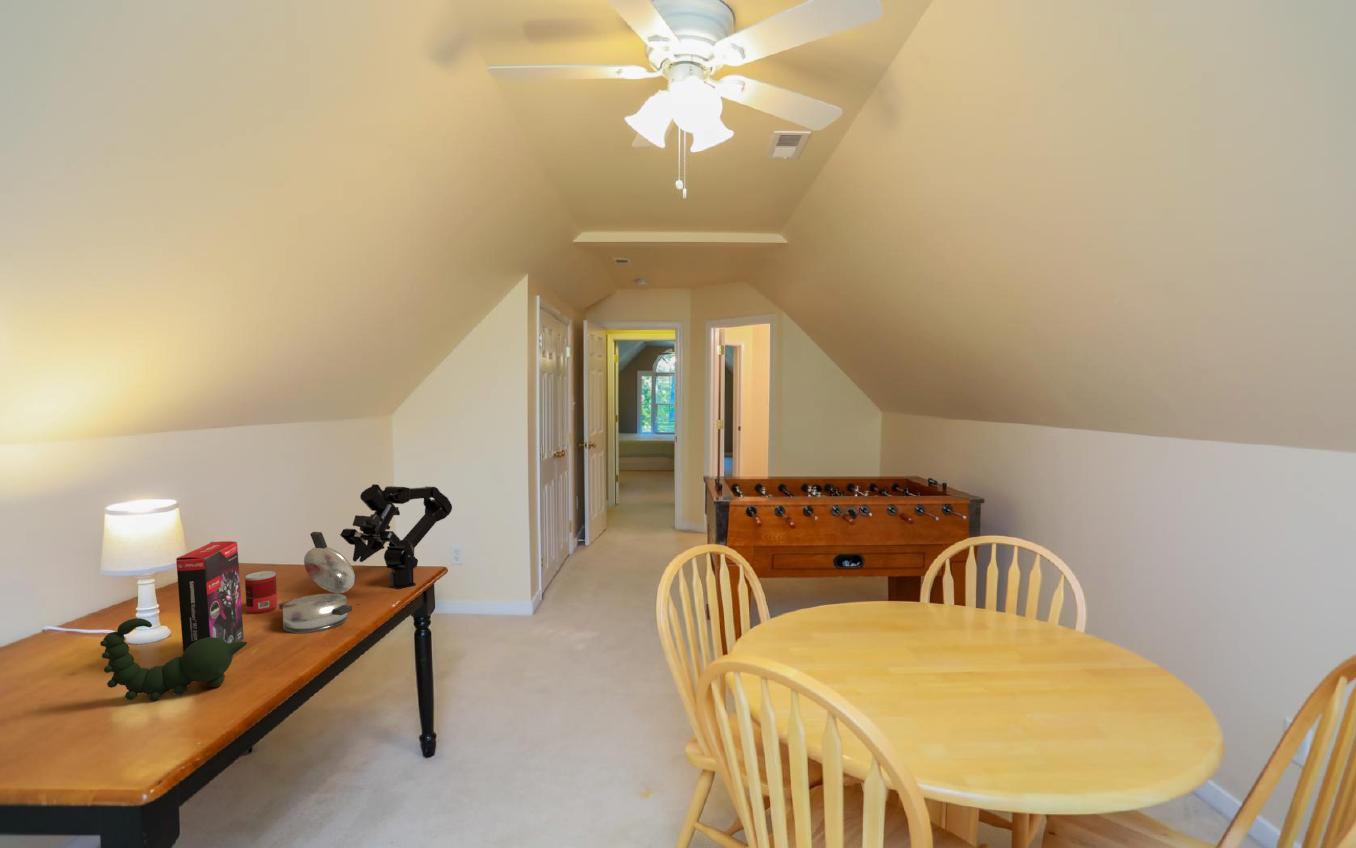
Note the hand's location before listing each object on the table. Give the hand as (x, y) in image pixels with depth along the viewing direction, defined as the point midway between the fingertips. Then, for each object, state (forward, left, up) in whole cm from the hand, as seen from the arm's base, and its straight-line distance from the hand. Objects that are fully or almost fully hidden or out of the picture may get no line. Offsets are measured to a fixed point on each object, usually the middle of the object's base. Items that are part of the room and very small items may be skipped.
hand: (357, 561), depth 201 cm
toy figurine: (+50, +32, -14) cm, 61 cm away
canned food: (+22, -17, -14) cm, 31 cm away
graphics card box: (+40, +13, -14) cm, 44 cm away
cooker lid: (+11, +6, +2) cm, 13 cm away
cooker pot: (+15, +8, -14) cm, 21 cm away
